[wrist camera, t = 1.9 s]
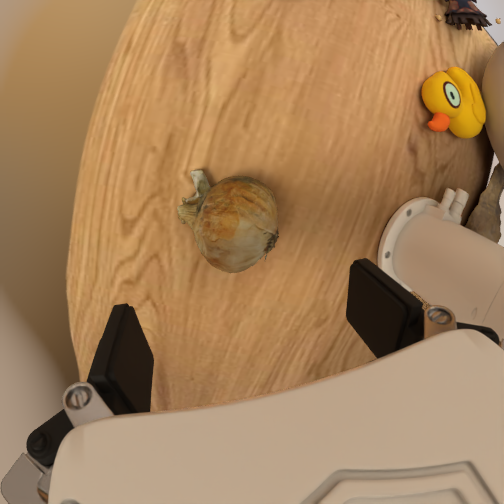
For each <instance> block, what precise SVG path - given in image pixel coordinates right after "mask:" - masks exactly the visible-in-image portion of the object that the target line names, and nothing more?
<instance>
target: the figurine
mask: <svg viewBox="0 0 504 504" xmlns="http://www.w3.org/2000/svg"><path fill="white" fill-rule="evenodd" d="M445 1H446V2H447V1H449V0H445ZM472 1H473V2H475V3H477V2H476V0H450V4H449V8H448V11H447V12H446V13H445V15H446V16H447V17H448V20H447V21H446V23H448V24H449V23H450V25H455V24H457V27H458V30H462V29H461V24H465V26H466V30H467V29H469V30H473V29H472V26H471V24H473V25H476V26H477V29H478V30H481V31H482V28H481V26H482V27H488V26H487V24H488V25H489V26H490V25H492V24H491V23H489V21H488V20H487V19H486V18H485V17H487V16H486V15H485V14H483V13H482V12H481V11H480V10H479V9H478V8H477V7H476V6H475V5H474V4H473V3H472ZM435 16H436V14H435ZM436 18H437V19H438V20H440V21H441V20H442V17H441V16H439V15H438V16H436ZM460 23H461V24H460ZM486 23H487V24H486ZM496 23H497V24H500V18H499V19H496Z"/></svg>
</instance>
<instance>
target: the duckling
mask: <svg viewBox="0 0 504 504" xmlns="http://www.w3.org/2000/svg"><path fill="white" fill-rule="evenodd" d="M422 98H423V101H424V103H425V105H426V107H427V108H428V109H429V110H430V111H431V112H432V113H433V114H434V116H433V119H432V121H429V122H428V126H429V128H430V129H431V130H433V131H436V132H443V131H445V130H446V129H447V128H448V127H449V129H450V130H451V131H452V133H453V134H455V135H456V136H458V137H460V138H472V137H474V136H475V135H477V134H478V133H479V132H480V131H481V129H482V126H483V124H484V123H485V121H486V110H485V106H484V103H483V100H482V97H481V94H480V91H479V88H478V86H477V84H476V83H475V82H474V80H473V79H472V78H471V77H470V76H469V75H468V74H467V73H466V72H465V71H464V70H463V69H461V68H458V67H451V68H449V69H448V70H447V74H446V73H445V72H442V71H439V72H437V73H435V74H434V75H432V76H431V77H429V78H428V79H427V80H426V81H425V82H424V83H423V86H422Z"/></svg>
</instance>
